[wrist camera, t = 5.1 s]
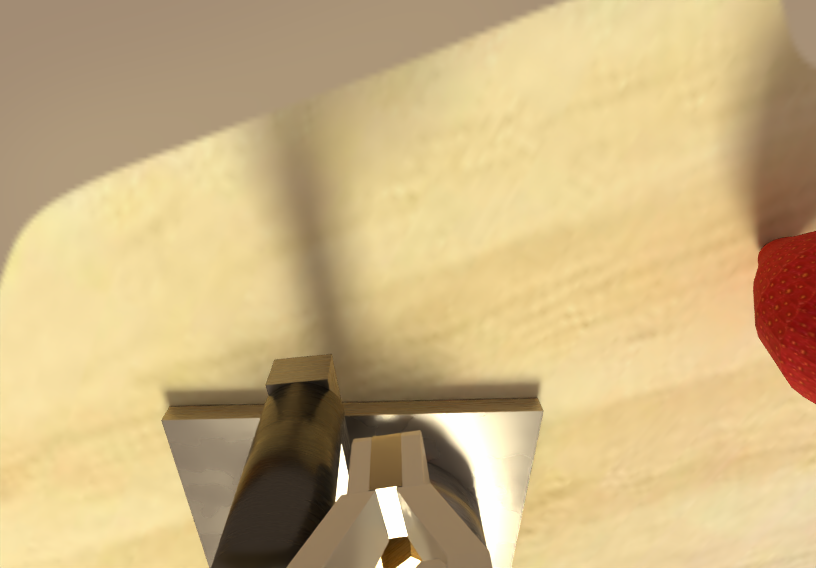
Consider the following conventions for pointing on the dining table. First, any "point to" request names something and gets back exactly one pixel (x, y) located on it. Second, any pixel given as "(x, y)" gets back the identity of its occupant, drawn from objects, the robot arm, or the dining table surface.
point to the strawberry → (789, 308)
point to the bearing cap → (437, 420)
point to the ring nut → (294, 471)
